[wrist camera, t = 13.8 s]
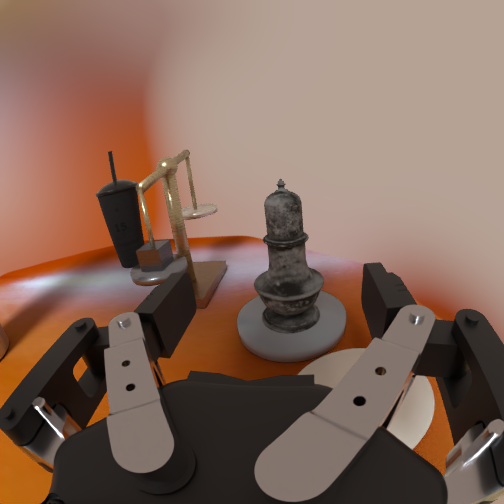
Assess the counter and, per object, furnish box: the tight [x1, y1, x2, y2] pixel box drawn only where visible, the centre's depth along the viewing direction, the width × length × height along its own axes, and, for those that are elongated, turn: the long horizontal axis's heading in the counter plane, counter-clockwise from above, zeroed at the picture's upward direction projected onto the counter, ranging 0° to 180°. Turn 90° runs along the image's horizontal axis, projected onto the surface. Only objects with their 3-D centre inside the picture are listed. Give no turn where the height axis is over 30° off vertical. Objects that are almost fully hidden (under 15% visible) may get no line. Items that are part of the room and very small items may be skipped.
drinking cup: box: [95, 151, 144, 268], centre depth 42 cm, size 8×8×20 cm
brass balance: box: [131, 150, 227, 308], centre depth 31 cm, size 7×19×17 cm, turn 171°
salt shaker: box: [254, 179, 324, 334], centre depth 22 cm, size 6×6×12 cm
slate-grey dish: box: [237, 290, 346, 363], centre depth 24 cm, size 10×10×1 cm
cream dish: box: [298, 348, 435, 450], centre depth 14 cm, size 10×10×1 cm
